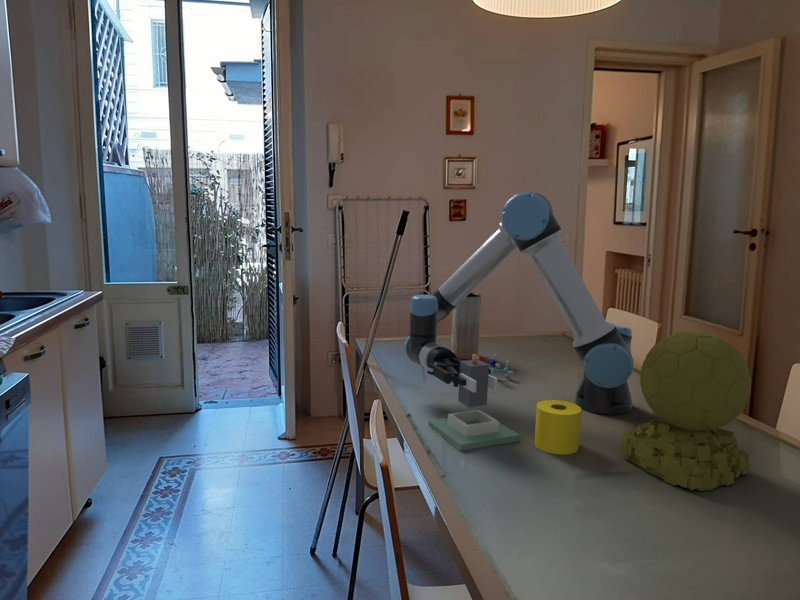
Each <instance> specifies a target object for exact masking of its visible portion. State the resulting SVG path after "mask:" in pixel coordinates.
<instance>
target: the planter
mask: <svg viewBox="0 0 800 600" xmlns="http://www.w3.org/2000/svg"><path fill="white" fill-rule="evenodd" d="M481 304H482V295H481V293H475V292H471V293H470V294H469V295H467V296H466V297H465V298H464V299H463V300H462V301H461V302H460V303H459V304H458V305H457V306H456V307H455V308H454V309H453V310H452V311H451V312H452V313H451V316H452V317H451V341H450V347H451V348H450V350H451V351H453V352H454V353H455V355H456V356H457V358H458V359H459V360H470V359H472V354H477V356H479V353H480V350H479V349H480V329H481V309H482V307H481V306H482V305H481Z"/></svg>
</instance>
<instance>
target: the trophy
mask: <svg viewBox="0 0 800 600" xmlns="http://www.w3.org/2000/svg"><path fill="white" fill-rule="evenodd" d="M642 362H643V363H642V366H641V369H640V375H639V376H640V377H639V384H640V387H641V393H642V396H643V399H644V400H645V402H646V404H647V405H648V407H649V408H650V409H651V411H653V413H655V414H656V415H657V417H659V418H660V419H658V418H654V419H652V420H649V421H648V422H642V423H639V424H635V428H634V429H633V430H631V429H630V431H628V432H627V434H624V433H622V437H621V440H620V446H621V447H620V448H621V449H620V455H622V456H623V457H625V459H627V460H628V461H630V462H631V461H632V463H633V464H634V463H635V464H634V465H635V466H636V465H637V467H639V468H641V469H642V468H643V469H642V470H644V471H645V470H646V471H645V472H647V473H649V474H650V473H652V474H651V475H653V474H654V475H653V476H655V475H657V476H659V477H658V478H660V477H662V478H664V479H663V482H664V483H666V484H669V485H672V486H674V485H675V486H679V485H680V487H681V486H682V487H681V488H684V487H685V489H686V488H689V489H692V490H693V489H697V490H696V491H698V492H700V491H702V492H703V491H712V490H715V489H717V488H718V487H720V486H729V485H733V484H735V479H737V478H739V477H740V475H746V474H749V473H750V455H749V453H748V452H746V451H745V450H744V449H739V445H738V441H737V437H736V435H735V432H734V431H730V430H727V429H723V428H722V427H725V426H727V425H729V423H731V422H732V421H734V420H736V419H737V418H738V417H739V416H740V415H741V414H742V413H743V411H744V410H745V408H746V406H747V403H748V402H749V399H750V396H751V391H752V390H751V389H752V388H751V387H752V379H751V374H750V369H749V366H748V364H747V362H746V360H745V359H744V357H743V356H742V354H741V353H740V352H739V350H738V349H737V348H736V347H734V345H732V344H731V343H730V342H728V341H726V340H725V339H723V338H721V337H720V336H718V335H715V334H712V333H711V334H710V333H709V332H705V331H700V330H689V331H679V332H676V333H673V334H670V335H668V336H666V337H665V338H662V339H660V340H659V341H658V342H657V343H656V344H654V345H653V346H652V348H651V349H650V350H649V351H648V353H647V354H646V355H645V358H644V360H643V361H642ZM657 476H656V477H657ZM662 478H661V479H662ZM677 484H678V485H677ZM675 486H674V487H675ZM714 488H715V489H714ZM689 489H688V490H689ZM693 491H694V490H693Z"/></svg>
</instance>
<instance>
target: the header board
mask: <svg viewBox="0 0 800 600" xmlns="http://www.w3.org/2000/svg"><path fill="white" fill-rule="evenodd" d="M427 425H428V426H430V427H431V428H432V429H433V430H435V431H436V432H437V433H439V434H440V435H441V436H442V437H441V436H440V435H439V434H438V435H439V436H440V437H441V438H443V437H444V438H445V439H446V440H447V441H446V440H445V439H444V438H443V439H444V440H445V441H446V442H448V441H449V442H450V443H451V444H450V443H449V442H448V443H449V444H450V445H452V446H453V445H454V446H455V449H457V450H458V451H459V450H460V451H459V452H463V450H464V451H469V450H474V449H480V448H485V447H486V448H487V447H492V446H496V445H503V444H508V443H514V442H519V441H520V434H518V433H517V432H515V431H513V430H512V429H510V427H508V426H506V425H504V424H502V423H501V422H499V421H498V420H497V419H496V418H494V417H492V416H491V415H489V414H487V413H486V412H484V411H482V410H480V409H473V410H466V411H459V412H453V413H452V412H451V413H447V417H444V418H443V417H442V418H438V419H431V420H428V422H427ZM430 427H429V428H430ZM431 428H430V429H431ZM432 429H431V430H432ZM433 430H432V431H433ZM435 431H434V432H435ZM436 432H435V433H436ZM437 433H436V434H437ZM454 446H453V447H454Z"/></svg>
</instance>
